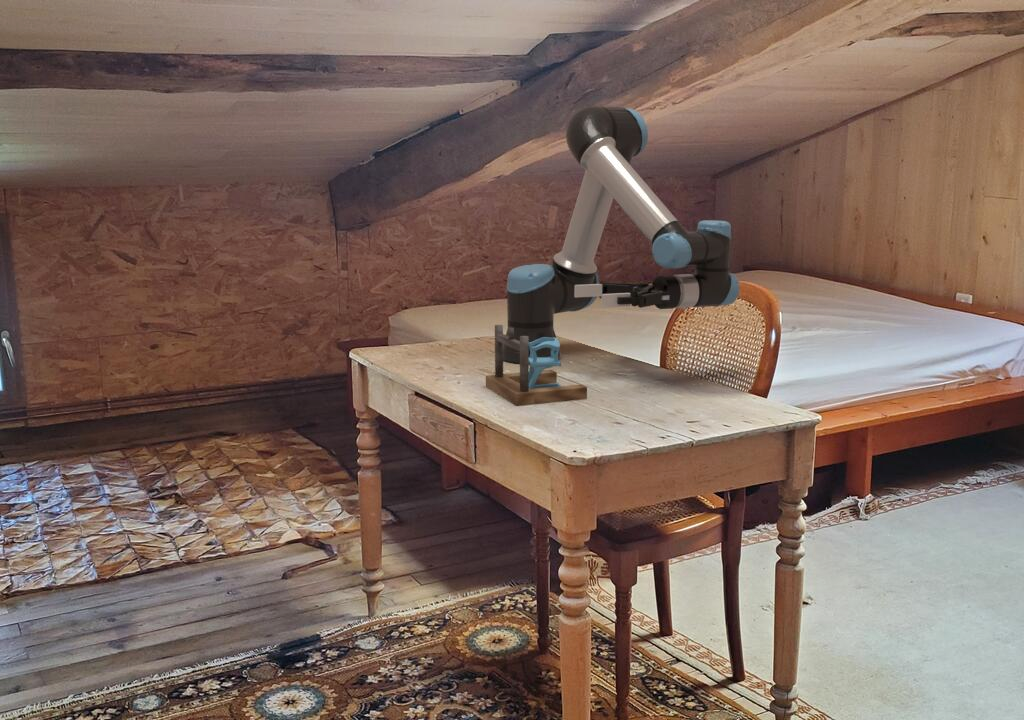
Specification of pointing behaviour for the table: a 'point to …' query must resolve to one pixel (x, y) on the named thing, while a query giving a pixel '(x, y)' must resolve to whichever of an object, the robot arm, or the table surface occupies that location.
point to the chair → (542, 360)
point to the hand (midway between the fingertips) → (588, 295)
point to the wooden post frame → (526, 376)
